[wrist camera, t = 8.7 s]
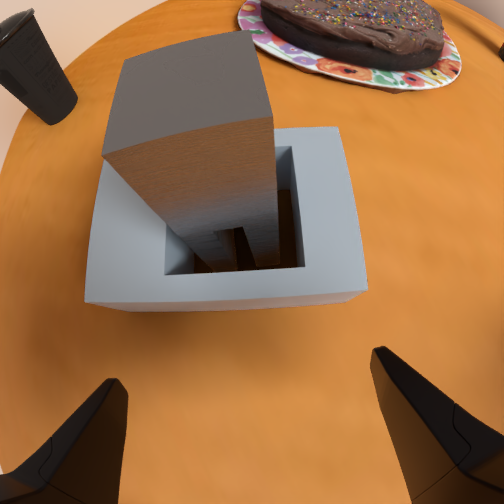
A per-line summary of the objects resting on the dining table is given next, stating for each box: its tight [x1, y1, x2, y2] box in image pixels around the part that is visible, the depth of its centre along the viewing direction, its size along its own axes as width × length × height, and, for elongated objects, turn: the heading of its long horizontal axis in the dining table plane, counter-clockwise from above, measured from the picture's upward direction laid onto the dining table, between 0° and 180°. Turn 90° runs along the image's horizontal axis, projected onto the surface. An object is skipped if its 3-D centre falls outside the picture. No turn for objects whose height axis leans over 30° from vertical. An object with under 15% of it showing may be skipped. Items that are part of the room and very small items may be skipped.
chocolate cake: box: [237, 0, 462, 94], centre depth 23 cm, size 28×28×7 cm
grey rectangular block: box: [102, 29, 280, 273], centre depth 13 cm, size 4×4×13 cm
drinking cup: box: [0, 8, 78, 125], centre depth 16 cm, size 8×8×20 cm
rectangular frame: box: [84, 127, 368, 312], centre depth 16 cm, size 9×14×5 cm, turn 92°
